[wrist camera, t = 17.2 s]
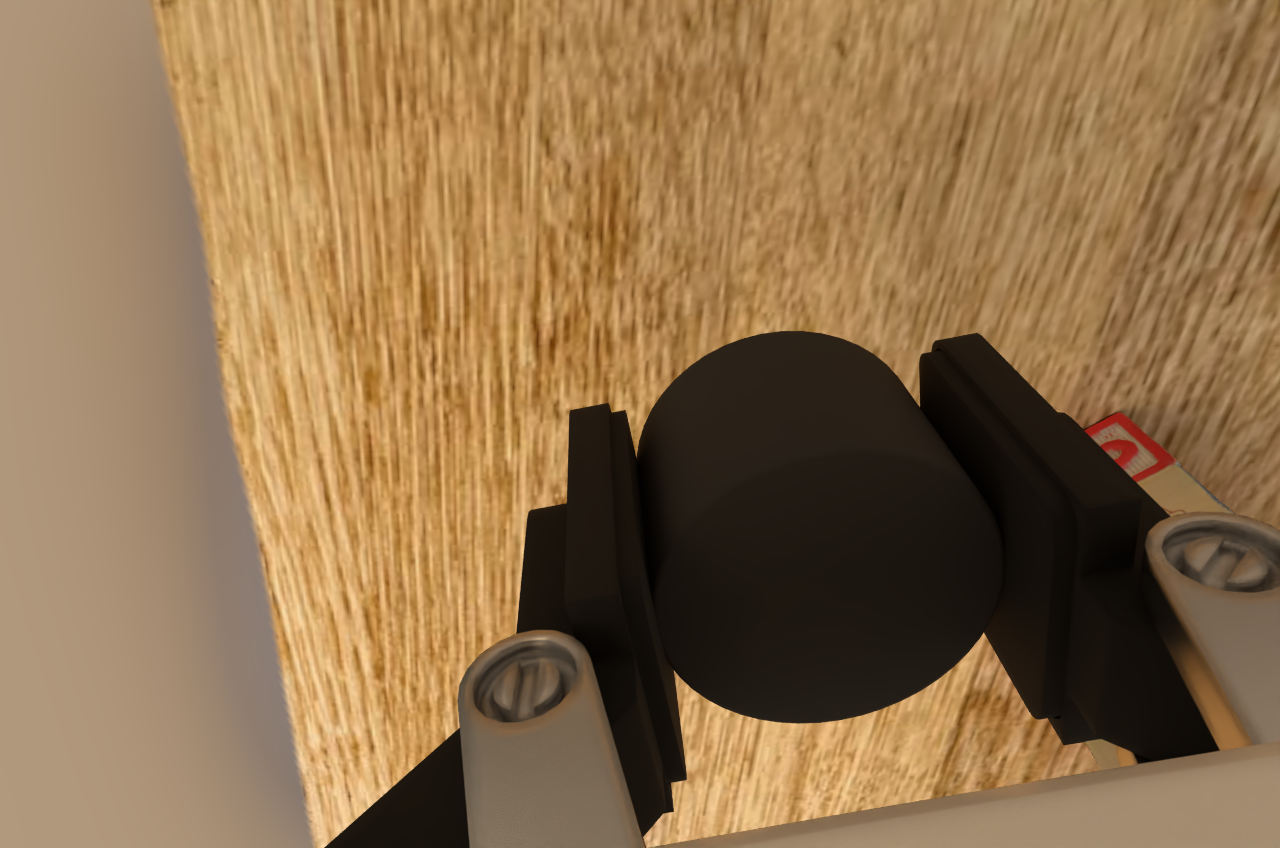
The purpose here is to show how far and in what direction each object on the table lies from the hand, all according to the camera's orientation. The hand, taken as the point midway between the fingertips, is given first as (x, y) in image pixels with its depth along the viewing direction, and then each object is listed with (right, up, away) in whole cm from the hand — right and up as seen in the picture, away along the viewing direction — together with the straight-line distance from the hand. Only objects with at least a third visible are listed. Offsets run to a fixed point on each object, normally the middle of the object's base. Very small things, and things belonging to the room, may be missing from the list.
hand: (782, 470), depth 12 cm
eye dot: (0, 0, 0) cm, 0 cm away
